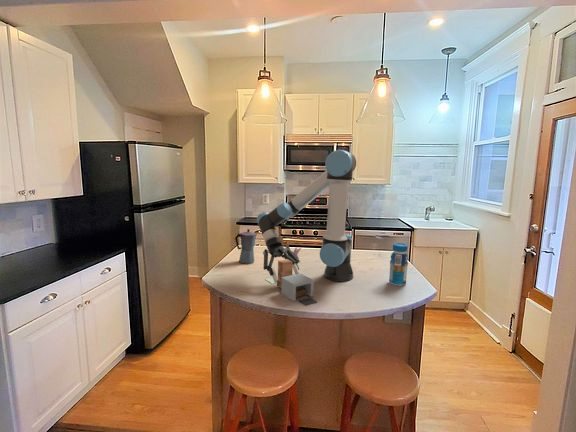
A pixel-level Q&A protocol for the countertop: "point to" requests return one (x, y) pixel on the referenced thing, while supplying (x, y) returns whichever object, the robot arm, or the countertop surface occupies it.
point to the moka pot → (246, 246)
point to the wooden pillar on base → (286, 270)
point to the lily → (296, 252)
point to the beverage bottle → (398, 264)
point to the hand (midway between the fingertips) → (287, 279)
